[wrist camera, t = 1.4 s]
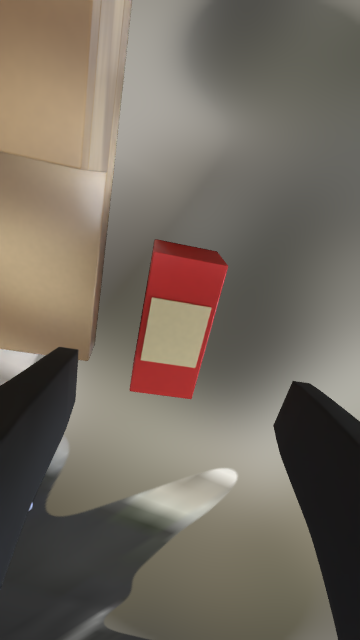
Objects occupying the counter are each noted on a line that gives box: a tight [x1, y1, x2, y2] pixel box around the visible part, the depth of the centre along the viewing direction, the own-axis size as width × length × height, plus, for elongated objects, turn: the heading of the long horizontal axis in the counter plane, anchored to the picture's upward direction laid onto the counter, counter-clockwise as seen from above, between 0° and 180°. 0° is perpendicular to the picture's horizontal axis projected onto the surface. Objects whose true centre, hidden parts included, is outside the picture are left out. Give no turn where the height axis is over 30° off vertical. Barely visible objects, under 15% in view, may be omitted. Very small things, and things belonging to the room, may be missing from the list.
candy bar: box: [130, 240, 228, 399], centre depth 17 cm, size 8×4×3 cm, turn 168°
